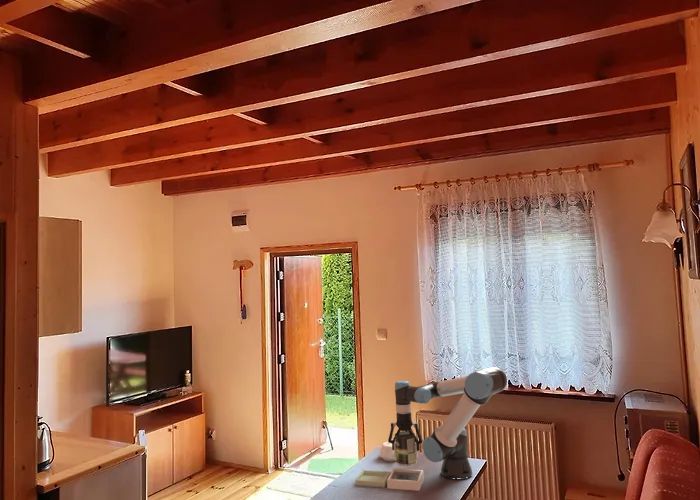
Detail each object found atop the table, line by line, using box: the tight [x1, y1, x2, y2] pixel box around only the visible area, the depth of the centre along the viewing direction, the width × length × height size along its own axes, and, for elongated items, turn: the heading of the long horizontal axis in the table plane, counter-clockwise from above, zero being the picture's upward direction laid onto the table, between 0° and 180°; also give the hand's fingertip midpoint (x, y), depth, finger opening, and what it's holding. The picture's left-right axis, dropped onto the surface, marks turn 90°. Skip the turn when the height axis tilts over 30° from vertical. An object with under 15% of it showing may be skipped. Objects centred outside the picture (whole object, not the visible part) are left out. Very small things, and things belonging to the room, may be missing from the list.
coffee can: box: [394, 431, 418, 467], centre depth 267 cm, size 10×10×14 cm
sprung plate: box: [392, 472, 420, 481], centre depth 252 cm, size 12×12×1 cm
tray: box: [355, 469, 391, 489], centre depth 256 cm, size 14×14×2 cm
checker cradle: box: [386, 468, 425, 492], centre depth 251 cm, size 15×15×4 cm
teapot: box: [379, 440, 397, 462], centre depth 287 cm, size 20×12×10 cm, turn 10°
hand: (406, 456), depth 267 cm, fingers closed on coffee can, 10 cm apart
